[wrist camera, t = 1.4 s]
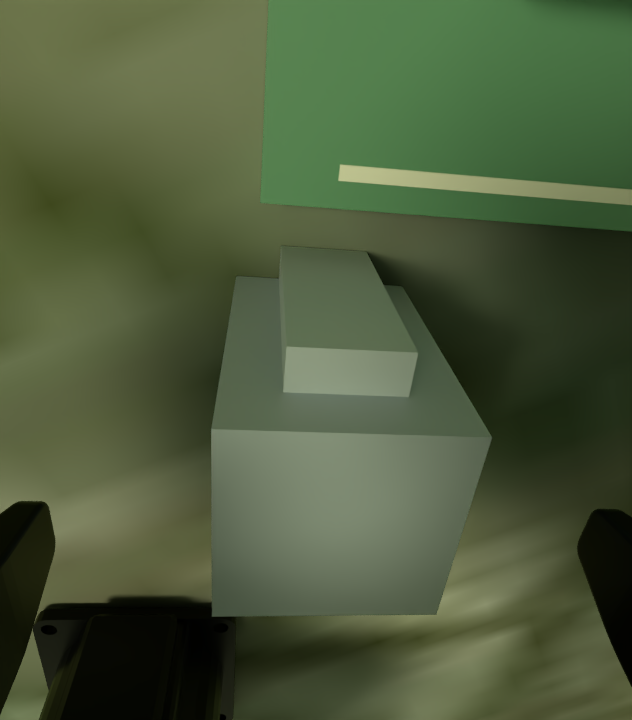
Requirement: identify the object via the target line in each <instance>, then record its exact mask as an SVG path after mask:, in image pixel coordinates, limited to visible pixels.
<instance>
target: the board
mask: <svg viewBox="0 0 632 720" xmlns="http://www.w3.org/2000/svg"><path fill="white" fill-rule="evenodd" d="M260 203H269V204H282V205H295V206H308V207H321V208H334V209H347V210H360V211H373V212H386V213H399V214H412V215H424V216H437V217H450V218H463V219H476V220H489V221H502V222H515V223H528V224H541V225H554V226H567V227H580V228H593V229H606V230H619V231H632V0H269V3H268V27H267V52H266V76H265V101H264V125H263V150H262V174H261V199H260Z"/></svg>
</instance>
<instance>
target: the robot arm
mask: <svg viewBox="0 0 632 720" xmlns="http://www.w3.org/2000/svg"><path fill="white" fill-rule="evenodd" d="M577 551H578V556H579V559H580V562H581V565H582V567H583V570H584V573H585V575H586V578H587V581H588V584H589V586H590V589H591V592H592V594H593V597H594V600H595V602H596V605H597V608H598V611H599V613H600V616H601V619H602V621H603V624H604V627H605V629H606V632H607V634H608V637H609V639H610V642H611V644H612V646H613V649H614V651H615V653H616V655H617V657H618V660H619V662H620V664H621V666H622V668H623V670H624V672H625V674H626V676H627V678H628V680H629V682H630V685H631V687H632V517H631V516H629V515H627V514H626V513H624V512H623V511H621V510H617V509H596V510H594V511H593V512H592V513H591V515H590V517H589V519H588V521H587V523H586V525H585V527H584V530H583V532H582V534H581V536H580V538H579V541H578V545H577ZM54 552H55V535H54V530H53V525H52V520H51V515H50V510H49V507H48V505H47V504H46V503H45V502H42V501H20V502H17V503H15V504H13V505H11V506H10V507H9V508H7V509H6V510H5V511H3V512H2V513H1V514H0V714H1V711H2V709H3V707H4V704H5V702H6V699H7V697H8V694H9V692H10V689H11V687H12V685H13V682H14V680H15V677H16V675H17V672H18V670H19V667H20V665H21V662H22V659H23V657H24V654H25V651H26V648H27V645H28V642H29V638H30V635H31V632H32V628H33V632H34V636H35V640H36V644H37V648H38V651H39V655H40V659H41V663H42V667H43V670H44V674H45V678H46V682H47V686H48V689H49V693H48V695H47V698H46V701H45V704H44V707H43V709H42V712H41V715H40V718H39V720H232V719H233V709H234V678H235V645H236V616H225V617H212V608H112V609H47V610H44V611H41V612H40V613H39V614H38V616H37V619H36V621H35V618H36V615H37V611H38V608H39V604H40V601H41V597H42V594H43V590H44V587H45V584H46V580H47V577H48V573H49V570H50V566H51V563H52V560H53V556H54ZM34 621H35V623H34ZM33 625H34V626H33Z"/></svg>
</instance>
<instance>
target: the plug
mask: <svg viewBox="0 0 632 720" xmlns="http://www.w3.org/2000/svg"><path fill="white" fill-rule="evenodd" d="M491 439H492V436H491V435H490V433H489V431H488V430H487V428H486V426H485V425H484V423H483V421H482V420H481V418H480V416H479V415H478V413H477V411H476V410H475V408H474V406H473V405H472V403H471V401H470V400H469V398H468V396H467V394H466V393H465V391H464V389H463V388H462V386H461V384H460V383H459V381H458V379H457V378H456V376H455V374H454V373H453V371H452V369H451V368H450V366H449V364H448V363H447V361H446V359H445V358H444V356H443V354H442V352H441V351H440V349H439V347H438V346H437V344H436V342H435V341H434V339H433V337H432V336H431V334H430V332H429V331H428V329H427V327H426V326H425V324H424V322H423V321H422V319H421V317H420V316H419V314H418V312H417V310H416V309H415V307H414V305H413V304H412V302H411V300H410V299H409V297H408V295H407V294H406V292H405V290H404V289H403V287H402V286H392V285H383V283H382V281H381V279H380V277H379V275H378V273H377V271H376V270H375V268H374V266H373V264H372V262H371V260H370V258H369V256H368V254H367V252H366V251H351V250H337V249H322V248H308V247H293V246H281V253H280V269H279V279H278V278H262V277H245V276H236V281H235V288H234V294H233V300H232V306H231V312H230V318H229V324H228V330H227V336H226V342H225V348H224V355H223V361H222V367H221V373H220V379H219V385H218V391H217V397H216V403H215V409H214V415H213V421H212V428H211V493H212V617H225V616H334V615H436V614H437V610H438V607H439V604H440V601H441V598H442V595H443V591H444V588H445V585H446V582H447V579H448V576H449V572H450V569H451V566H452V563H453V560H454V557H455V553H456V550H457V547H458V544H459V541H460V538H461V534H462V531H463V528H464V525H465V522H466V519H467V515H468V512H469V509H470V506H471V503H472V500H473V496H474V493H475V490H476V487H477V484H478V481H479V477H480V474H481V471H482V468H483V465H484V462H485V458H486V455H487V452H488V449H489V446H490V443H491Z"/></svg>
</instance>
